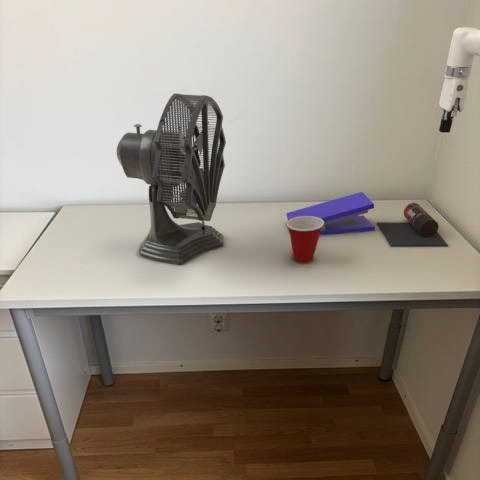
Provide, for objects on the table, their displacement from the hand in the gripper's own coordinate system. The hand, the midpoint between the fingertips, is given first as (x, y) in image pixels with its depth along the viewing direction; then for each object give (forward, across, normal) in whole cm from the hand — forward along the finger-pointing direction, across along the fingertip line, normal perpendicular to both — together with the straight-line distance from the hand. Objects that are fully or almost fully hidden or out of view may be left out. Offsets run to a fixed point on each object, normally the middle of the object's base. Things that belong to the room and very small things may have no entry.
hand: (444, 131), depth 173 cm
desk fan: (+27, -33, +90) cm, 100 cm away
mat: (+27, -23, +13) cm, 38 cm away
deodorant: (+24, -11, +10) cm, 28 cm away
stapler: (+27, -17, +39) cm, 51 cm away
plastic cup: (+27, -40, +51) cm, 70 cm away
